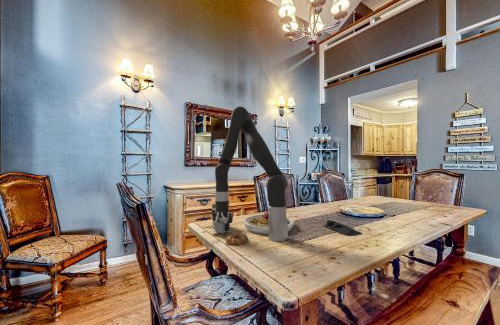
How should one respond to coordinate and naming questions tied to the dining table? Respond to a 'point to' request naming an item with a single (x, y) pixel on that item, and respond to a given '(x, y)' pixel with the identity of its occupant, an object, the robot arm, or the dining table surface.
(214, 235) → the brown base with peg
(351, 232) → the dark slate chunk
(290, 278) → the dining table surface
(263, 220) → the bowl
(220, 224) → the matte grey box
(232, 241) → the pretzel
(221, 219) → the coffee can
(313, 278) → the dining table surface
